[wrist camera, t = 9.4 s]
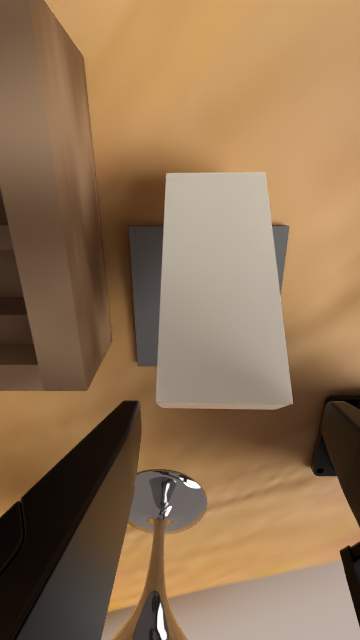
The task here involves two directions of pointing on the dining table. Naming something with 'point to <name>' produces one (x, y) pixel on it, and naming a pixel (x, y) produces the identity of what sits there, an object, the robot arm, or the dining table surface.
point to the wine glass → (160, 546)
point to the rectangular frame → (47, 210)
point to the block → (220, 296)
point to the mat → (148, 283)
